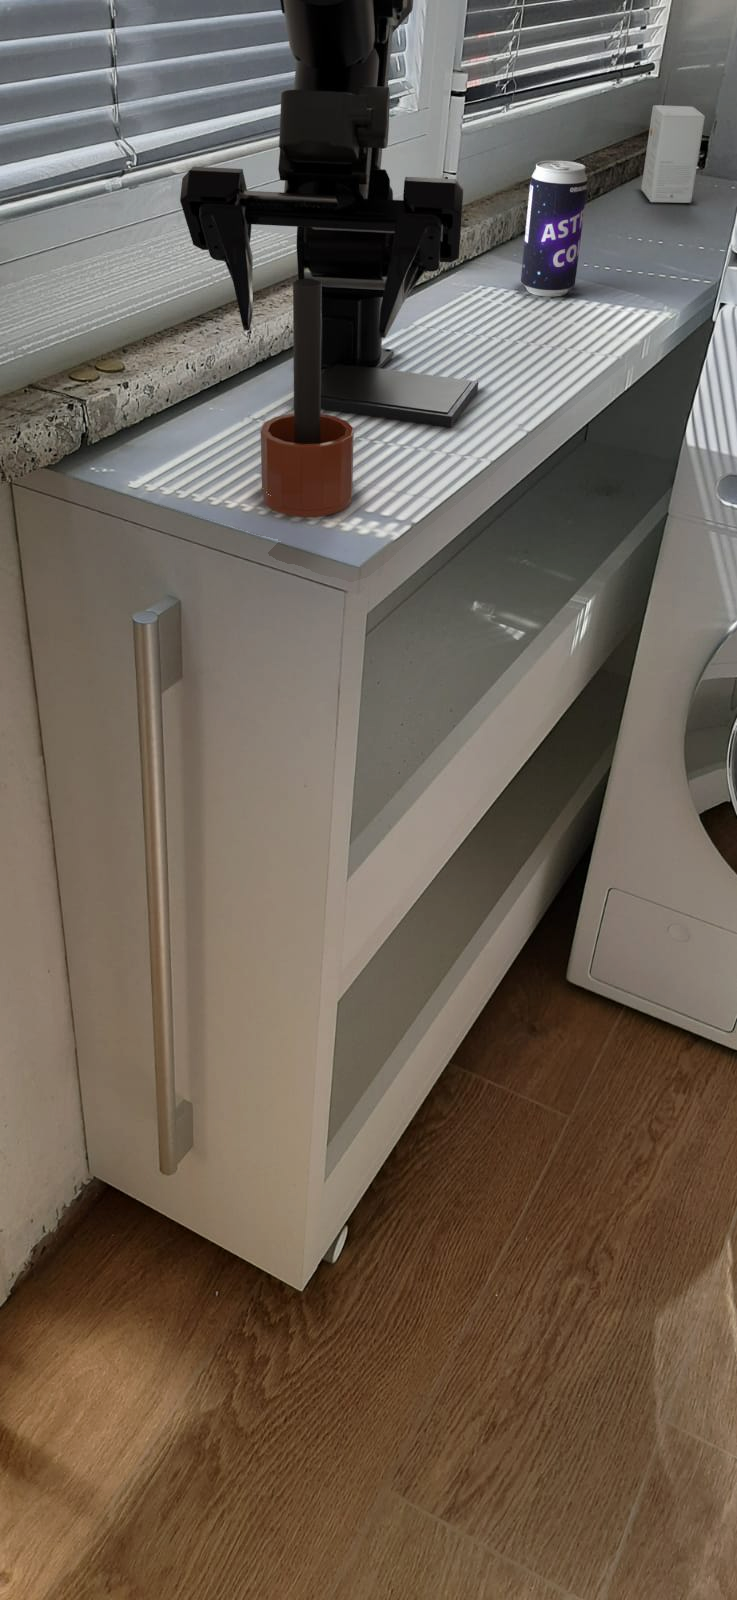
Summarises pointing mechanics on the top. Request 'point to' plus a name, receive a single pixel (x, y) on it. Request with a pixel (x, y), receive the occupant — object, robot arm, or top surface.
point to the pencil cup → (307, 468)
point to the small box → (672, 153)
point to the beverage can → (553, 227)
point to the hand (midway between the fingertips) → (313, 331)
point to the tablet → (395, 394)
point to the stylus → (307, 361)
